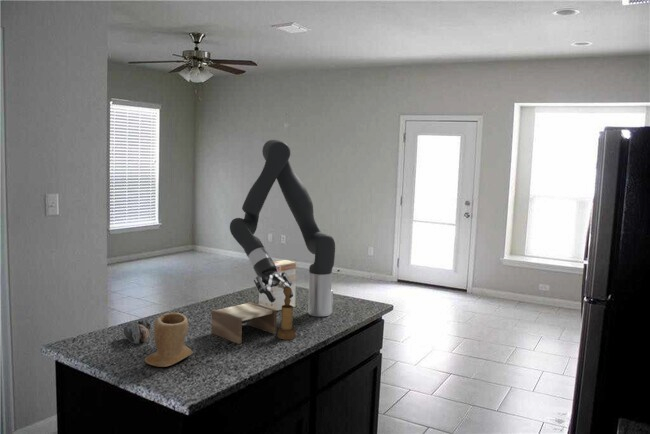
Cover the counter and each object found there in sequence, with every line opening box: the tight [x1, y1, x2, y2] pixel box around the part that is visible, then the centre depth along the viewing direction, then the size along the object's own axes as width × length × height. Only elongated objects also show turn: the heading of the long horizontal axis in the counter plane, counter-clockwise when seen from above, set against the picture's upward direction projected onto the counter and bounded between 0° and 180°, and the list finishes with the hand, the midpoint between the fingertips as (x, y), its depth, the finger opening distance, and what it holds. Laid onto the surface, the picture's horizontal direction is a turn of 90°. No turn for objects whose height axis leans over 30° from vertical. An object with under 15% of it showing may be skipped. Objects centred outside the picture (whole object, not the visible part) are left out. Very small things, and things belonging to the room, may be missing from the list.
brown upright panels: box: [211, 301, 278, 345], centre depth 199 cm, size 17×16×8 cm
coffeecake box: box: [258, 259, 297, 311], centre depth 232 cm, size 15×7×20 cm, turn 136°
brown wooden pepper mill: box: [276, 287, 297, 341], centre depth 196 cm, size 7×6×18 cm
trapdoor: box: [216, 302, 272, 325], centre depth 198 cm, size 14×14×6 cm
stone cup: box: [144, 312, 193, 368], centre depth 170 cm, size 15×12×15 cm
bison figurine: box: [122, 319, 152, 344], centre depth 188 cm, size 12×7×10 cm
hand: (282, 299), depth 197 cm, fingers open, 8 cm apart
